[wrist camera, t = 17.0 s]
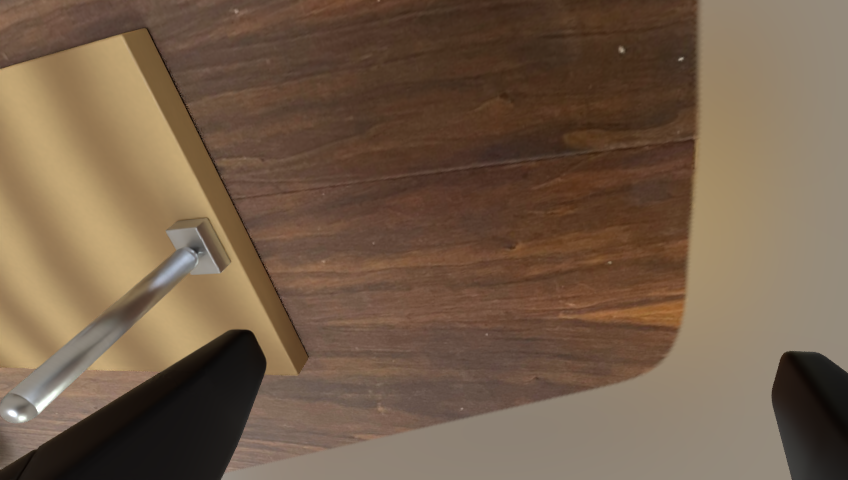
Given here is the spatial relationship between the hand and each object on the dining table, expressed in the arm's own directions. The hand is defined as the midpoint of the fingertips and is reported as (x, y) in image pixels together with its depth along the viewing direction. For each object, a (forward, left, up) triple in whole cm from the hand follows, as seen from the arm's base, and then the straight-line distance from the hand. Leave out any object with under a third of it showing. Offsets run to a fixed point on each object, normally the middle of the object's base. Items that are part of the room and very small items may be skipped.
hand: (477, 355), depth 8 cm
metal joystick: (+10, +14, -12) cm, 21 cm away
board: (+23, +27, -13) cm, 38 cm away
